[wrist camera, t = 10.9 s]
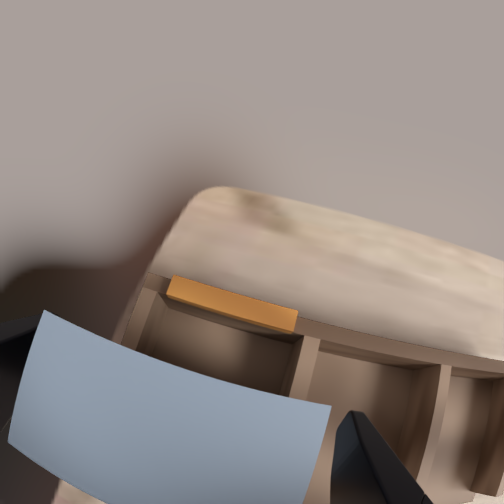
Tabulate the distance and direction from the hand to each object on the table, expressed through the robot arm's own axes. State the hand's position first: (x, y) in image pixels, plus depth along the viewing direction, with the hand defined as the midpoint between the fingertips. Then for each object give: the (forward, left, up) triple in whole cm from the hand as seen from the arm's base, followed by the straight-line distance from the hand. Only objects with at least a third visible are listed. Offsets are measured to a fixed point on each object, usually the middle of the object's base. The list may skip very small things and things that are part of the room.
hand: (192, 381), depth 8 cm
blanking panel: (-1, -1, -8) cm, 8 cm away
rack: (+3, -8, -9) cm, 12 cm away
